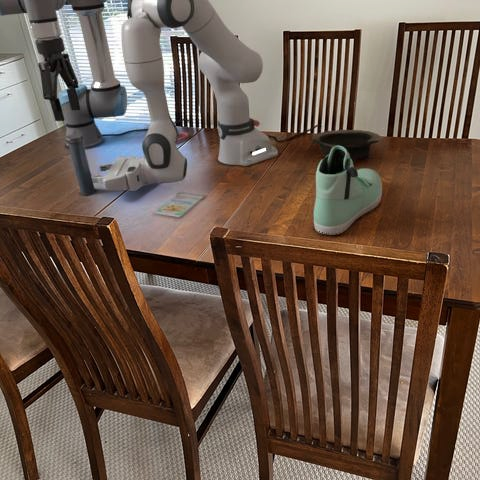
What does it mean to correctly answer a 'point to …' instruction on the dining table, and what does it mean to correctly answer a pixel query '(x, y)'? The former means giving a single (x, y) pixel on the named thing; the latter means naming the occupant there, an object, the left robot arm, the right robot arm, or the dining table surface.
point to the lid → (74, 138)
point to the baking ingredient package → (179, 204)
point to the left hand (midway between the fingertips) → (68, 115)
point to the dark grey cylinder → (81, 168)
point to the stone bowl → (347, 142)
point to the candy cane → (185, 135)
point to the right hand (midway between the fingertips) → (96, 173)
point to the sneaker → (343, 192)
